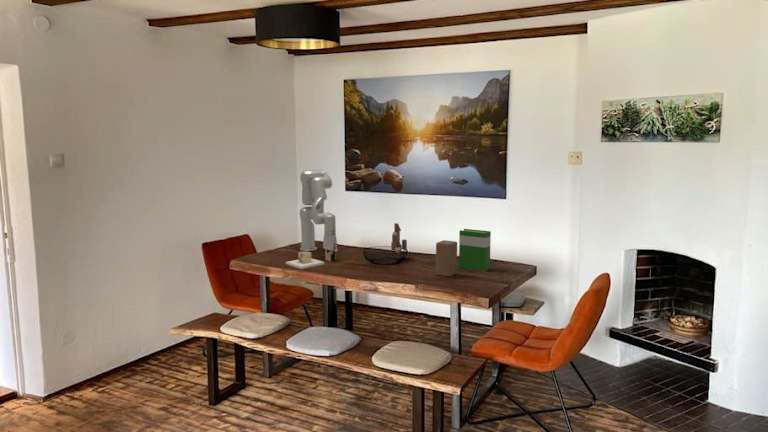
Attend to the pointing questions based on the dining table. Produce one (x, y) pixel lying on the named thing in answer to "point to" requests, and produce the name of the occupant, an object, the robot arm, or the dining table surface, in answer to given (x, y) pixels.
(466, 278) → the dining table surface
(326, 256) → the terracotta block
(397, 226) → the wooden toy
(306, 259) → the maple block
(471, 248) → the green cereal box
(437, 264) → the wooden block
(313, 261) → the plate
